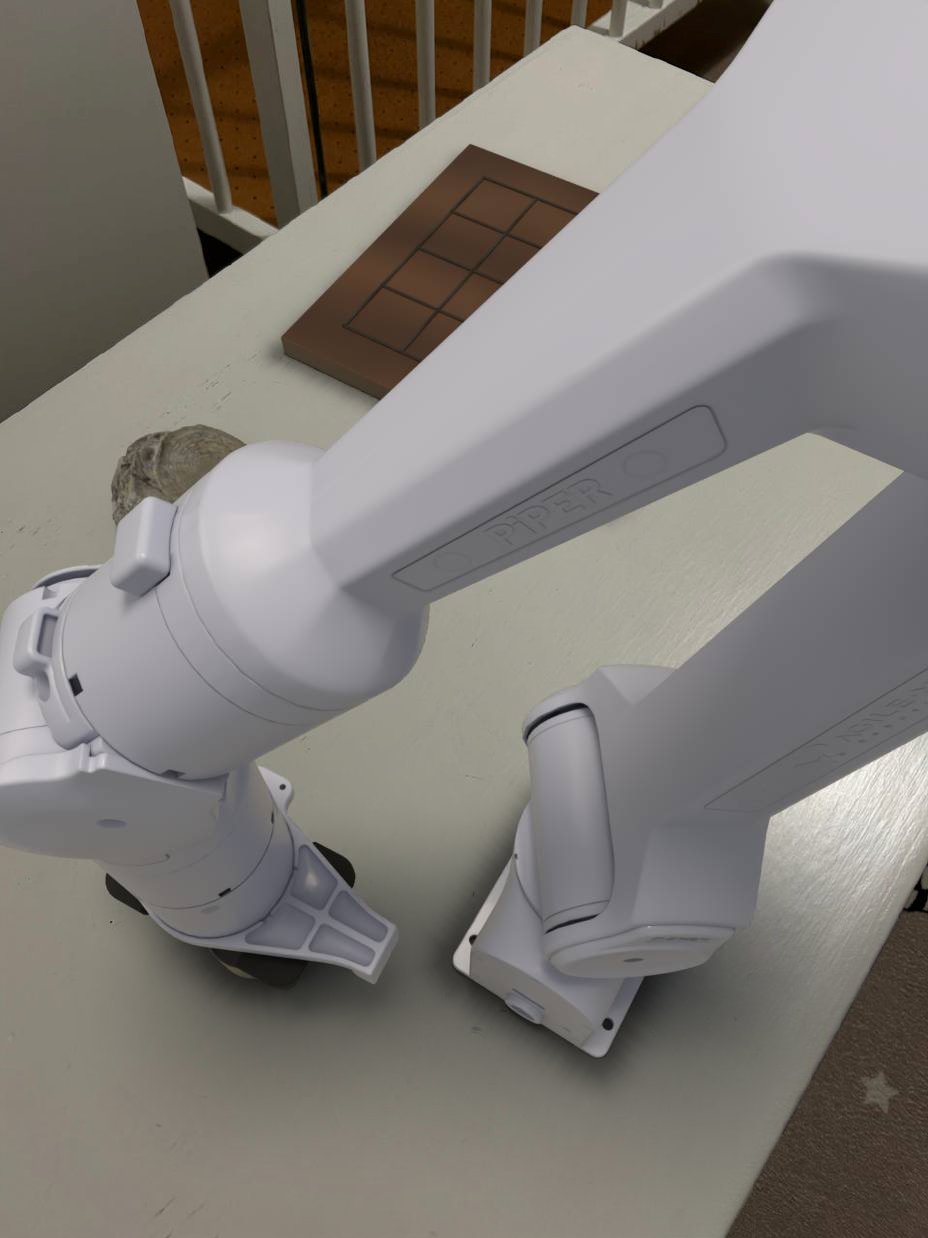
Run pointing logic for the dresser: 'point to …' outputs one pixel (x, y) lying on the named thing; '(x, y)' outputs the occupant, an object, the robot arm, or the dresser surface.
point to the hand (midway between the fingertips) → (261, 916)
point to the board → (433, 269)
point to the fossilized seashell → (167, 465)
